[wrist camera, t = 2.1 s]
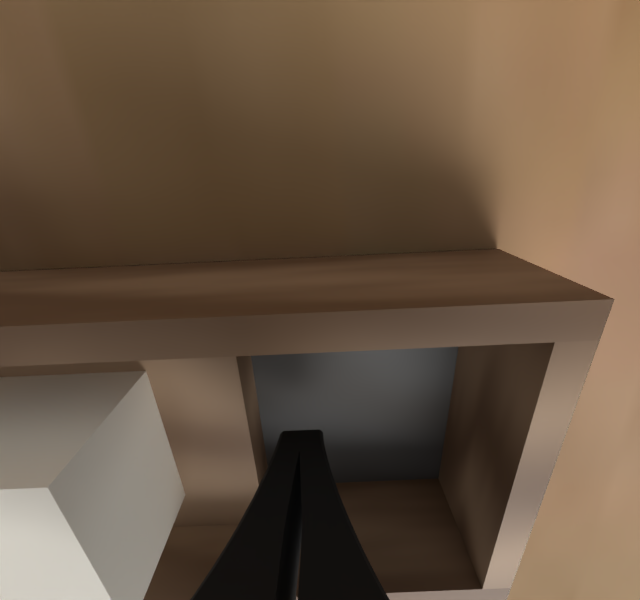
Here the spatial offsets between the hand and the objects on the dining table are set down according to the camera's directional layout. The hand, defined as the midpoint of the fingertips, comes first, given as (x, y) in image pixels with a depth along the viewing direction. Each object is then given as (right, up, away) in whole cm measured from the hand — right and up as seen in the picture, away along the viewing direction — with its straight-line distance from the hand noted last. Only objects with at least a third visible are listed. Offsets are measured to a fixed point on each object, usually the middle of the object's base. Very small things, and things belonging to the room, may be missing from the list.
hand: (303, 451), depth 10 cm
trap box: (-9, +1, +3) cm, 9 cm away
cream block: (-8, 0, +1) cm, 8 cm away
